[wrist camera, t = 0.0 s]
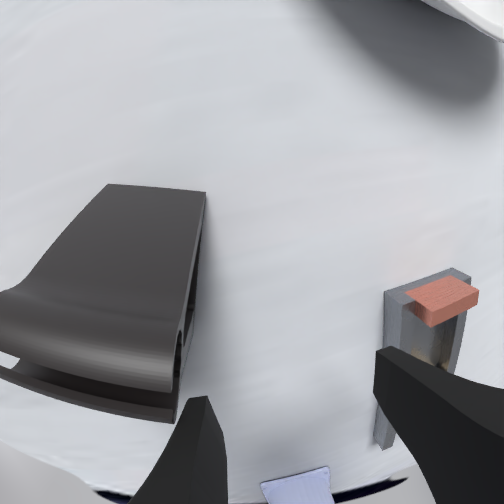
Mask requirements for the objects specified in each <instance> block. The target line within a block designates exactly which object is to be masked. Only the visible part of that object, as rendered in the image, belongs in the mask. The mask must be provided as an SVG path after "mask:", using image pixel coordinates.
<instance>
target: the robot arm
mask: <svg viewBox="0 0 504 504" xmlns="http://www.w3.org/2000/svg"><path fill="white" fill-rule="evenodd" d="M373 393H374V395H375V397H376V399H377V401H378V404H379V405H380V407H381V409H382V411H383V413H384V415H385V416H386V418H387V419H388V421H389V422H390V424H391V425H392V427H393V428H394V429H395V431H396V432H397V434H398V435H399V437H400V438H401V439H402V441H403V442H404V444H405V445H406V447H407V448H408V449H409V451H410V452H411V454H412V455H413V457H414V458H415V460H416V462H417V463H418V465H419V467H420V469H421V471H422V473H423V475H424V477H425V479H426V481H427V483H428V485H429V488H430V490H431V492H432V494H433V497H434V499H435V502H436V504H504V389H500V388H495V387H491V386H488V385H484V384H480V383H476V382H473V381H470V380H467V379H465V378H462V377H459V376H456V375H454V374H451V373H449V372H446V371H444V370H442V369H439V368H437V367H435V366H433V365H431V364H429V363H426V362H424V361H422V360H420V359H418V358H416V357H414V356H412V355H410V354H408V353H406V352H404V351H402V350H400V349H398V348H396V347H393V346H388V347H386V348H383V349H381V350H378V351H376V360H375V375H374V387H373ZM260 487H261V489H262V491H263V494H264V496H265V498H266V500H267V502H268V504H335V503H334V500H333V498H332V495H331V492H330V469H329V467H323V468H320V469H317V470H313V471H310V472H306V473H303V474H299V475H295V476H291V477H287V478H282V479H278V480H273V481H268V482H263V483H261V484H260ZM127 504H228V485H227V457H226V450H225V443H224V436H223V432H222V430H221V427H220V425H219V423H218V420H217V418H216V416H215V413H214V411H213V409H212V406H211V404H210V401H209V399H208V397H207V396H201V397H195V398H189V399H188V400H187V402H186V404H185V407H184V409H183V411H182V414H181V416H180V418H179V421H178V423H177V425H176V427H175V429H174V431H173V433H172V435H171V437H170V439H169V441H168V443H167V445H166V447H165V449H164V451H163V453H162V454H161V456H160V458H159V459H158V461H157V463H156V465H155V466H154V468H153V470H152V471H151V473H150V474H149V476H148V477H147V479H146V480H145V482H144V483H143V484H142V486H141V487H140V489H139V490H138V491H137V492H136V494H135V495H134V496H133V498H132V499H131V500H130V501H129V502H128V503H127Z"/></svg>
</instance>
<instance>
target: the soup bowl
mask: <svg viewBox="0 0 504 504" xmlns="http://www.w3.org/2000/svg"><path fill="white" fill-rule="evenodd" d="M421 1H423V2H424V3H426V4H428V5H430V6H432V7H434V8H435V9H437V10H439V11H441V12H443V13H445V14H448V15H450V16H452V17H454V18H457V19H459V20H462V21H464V22H466V23H468V24H469V25H471V26H472V27H474V28H476V29H477V30H478V31H480V32H482V33H484V34H485V35H487V36H489V37H491V38H493V39H495V40H497V41H500V42H503V43H504V0H421Z"/></svg>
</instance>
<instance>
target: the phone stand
mask: <svg viewBox="0 0 504 504" xmlns="http://www.w3.org/2000/svg"><path fill="white" fill-rule="evenodd" d="M205 197H206V192H200V191H191V190H180V189H170V188H158V187H146V186H133V185H118V184H107V185H106V186H105V187H104V188H103V189H102V190H101V191H100V192H99V193H98V194H97V195H96V196H95V197H94V198H93V199H92V200H91V201H90V203H89V204H88V205H87V206H86V207H85V208H84V209H83V210H82V211H81V212H80V213H79V214H78V215H77V216H76V218H75V219H74V220H73V221H72V222H71V223H70V224H69V225H68V226H67V228H66V229H65V230H64V231H63V232H62V233H61V235H60V236H59V237H58V238H57V239H56V240H55V242H54V243H53V244H52V245H51V246H50V248H49V249H48V250H47V251H46V253H45V254H44V255H43V256H42V258H41V259H40V260H39V261H38V263H37V264H36V265H35V267H34V268H33V269H32V271H31V272H30V273H29V274H28V276H27V277H26V278H25V279H24V280H23V281H22V282H20V283H19V284H18V285H16V286H15V287H13V288H10V289H8V290H4V291H2V292H0V351H1V352H4V353H7V354H9V355H12V356H15V357H18V358H20V360H19V361H18V363H17V364H16V365H15V366H14V367H13V368H12V369H8V368H5V367H3V366H0V378H1V379H4V380H6V381H8V382H11V383H13V384H16V385H18V386H21V387H23V388H26V389H29V390H31V391H34V392H37V393H40V394H43V395H46V396H49V397H52V398H55V399H58V400H61V401H64V402H68V403H71V404H75V405H78V406H82V407H86V408H89V409H93V410H98V411H102V412H106V413H111V414H115V415H120V416H125V417H130V418H136V419H142V420H148V421H154V422H161V423H169V424H174V423H175V420H176V415H177V408H178V399H179V391H180V384H181V378H182V373H183V369H184V366H185V362H186V358H187V354H188V351H189V347H190V343H191V339H192V336H193V328H194V313H195V299H196V286H197V274H198V263H199V252H200V242H201V232H202V223H203V214H204V205H205Z"/></svg>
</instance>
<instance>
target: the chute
mask: <svg viewBox="0 0 504 504" xmlns="http://www.w3.org/2000/svg"><path fill="white" fill-rule="evenodd" d="M478 295H479V290H478V289H476V288H474V287H472V286H471V277H470V276H468V275H466V274H464V273H462V272H460V271H458V270H456V269H454V268H450V269H447V270H445V271H442V272H439V273H437V274H434V275H431V276H429V277H426V278H423V279H420V280H417V281H414V282H412V283H409V284H406V285H403V286H400V287H397V288H394V289H391V290H388V291H385V292H384V336H383V348H386V347H388V346H393V347H396V348H398V349H400V350H402V351H404V352H406V353H408V354H410V355H412V356H414V357H416V358H418V359H420V360H422V361H424V362H426V363H429V364H431V365H433V366H435V367H437V368H439V369H442V370H444V371H446V372H449V373H451V374H454V371H455V368H456V364H457V360H458V355H459V351H460V347H461V342H462V337H463V332H464V327H465V321H466V315H467V310H468V309H470V308H472V307H474V306H475V305H477V302H478ZM396 433H397V432H396V431H395V429H394V428H393V427H392V425H391V424H390V422H389V421H388V419H387V418H386V416H385V415H384V413H383V411H382V409H381V407H380V405H379V404H378V408H377V415H376V422H375V429H374V437H375V439H376V441H377V442H378V444H379V446H380V447H381V449H382V451H383V450H385V449H387V448H389V447H392V446H393V442H394V438H395V434H396Z"/></svg>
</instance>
